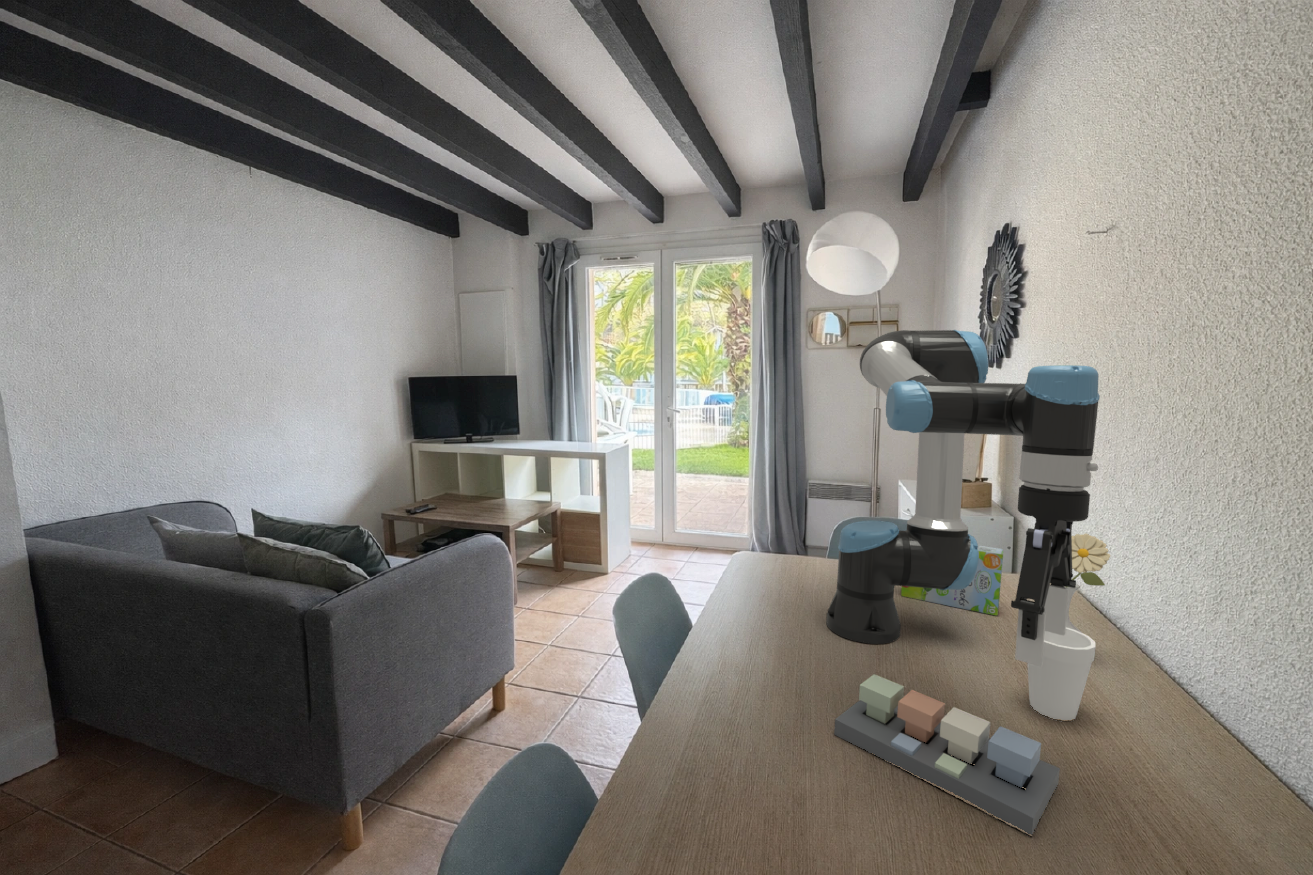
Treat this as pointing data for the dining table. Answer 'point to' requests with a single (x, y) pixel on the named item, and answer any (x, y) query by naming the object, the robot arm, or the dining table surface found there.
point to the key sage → (880, 697)
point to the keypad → (951, 767)
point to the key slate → (1013, 755)
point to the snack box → (979, 592)
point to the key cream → (964, 734)
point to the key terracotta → (920, 714)
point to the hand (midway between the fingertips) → (1041, 646)
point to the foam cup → (1061, 674)
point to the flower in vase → (1086, 564)
